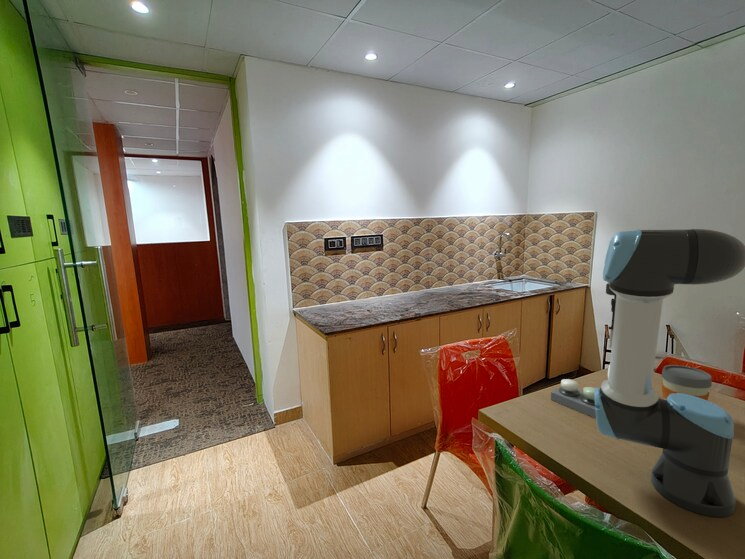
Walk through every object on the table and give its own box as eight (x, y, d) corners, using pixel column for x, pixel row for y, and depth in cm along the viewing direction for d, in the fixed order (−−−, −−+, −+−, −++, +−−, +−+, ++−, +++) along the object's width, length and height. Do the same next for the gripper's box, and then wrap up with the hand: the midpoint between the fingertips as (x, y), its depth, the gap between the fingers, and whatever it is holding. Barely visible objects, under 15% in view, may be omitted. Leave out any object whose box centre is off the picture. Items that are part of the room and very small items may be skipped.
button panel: (623, 429, 111) (623, 419, 111) (550, 399, 131) (551, 390, 131) (637, 419, 116) (637, 409, 116) (565, 392, 136) (565, 383, 136)
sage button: (596, 401, 119) (597, 395, 119) (579, 395, 124) (580, 389, 124) (604, 396, 122) (605, 391, 122) (588, 390, 127) (588, 385, 126)
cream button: (572, 392, 126) (573, 387, 126) (557, 386, 131) (558, 381, 130) (581, 388, 129) (581, 383, 129) (566, 382, 134) (566, 377, 133)
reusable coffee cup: (717, 425, 111) (723, 381, 109) (672, 422, 114) (676, 379, 112) (690, 405, 124) (695, 365, 121) (650, 403, 126) (654, 363, 124)
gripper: (632, 290, 109) (627, 355, 112) (632, 278, 128) (628, 334, 132) (604, 288, 113) (600, 350, 116) (608, 277, 133) (604, 331, 136)
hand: (615, 342), depth 124 cm, fingers open, 13 cm apart
